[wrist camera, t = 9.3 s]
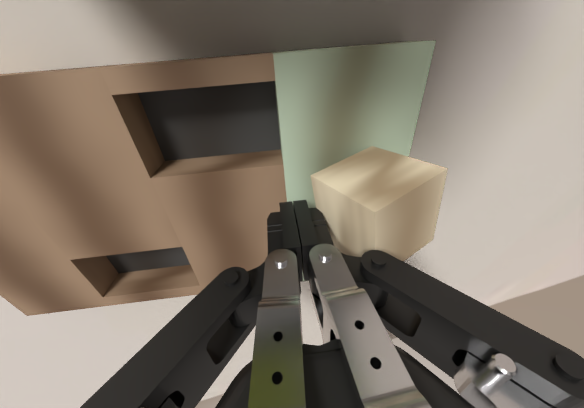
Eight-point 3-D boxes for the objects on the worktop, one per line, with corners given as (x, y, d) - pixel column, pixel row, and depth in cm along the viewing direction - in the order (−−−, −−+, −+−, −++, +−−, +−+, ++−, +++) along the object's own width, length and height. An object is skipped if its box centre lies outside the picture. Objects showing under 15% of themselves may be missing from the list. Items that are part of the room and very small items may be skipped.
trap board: (406, 41, 12) (436, 40, 10) (370, 248, 20) (382, 271, 18) (-158, 87, 11) (-256, 97, 9) (52, 286, 19) (27, 315, 17)
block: (372, 145, 12) (447, 168, 9) (371, 205, 15) (433, 239, 12) (310, 175, 11) (375, 212, 8) (321, 235, 13) (374, 282, 10)
